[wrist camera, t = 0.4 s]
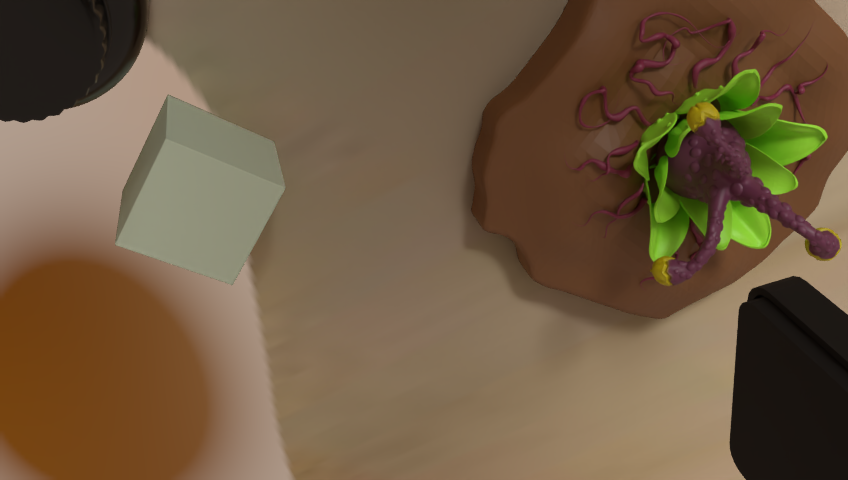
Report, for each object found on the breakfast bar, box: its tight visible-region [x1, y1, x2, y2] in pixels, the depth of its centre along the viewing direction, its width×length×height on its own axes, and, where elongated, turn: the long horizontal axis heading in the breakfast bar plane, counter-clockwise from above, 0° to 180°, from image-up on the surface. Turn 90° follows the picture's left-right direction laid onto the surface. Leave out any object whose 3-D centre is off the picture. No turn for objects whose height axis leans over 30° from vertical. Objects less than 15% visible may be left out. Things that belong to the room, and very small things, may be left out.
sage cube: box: [115, 95, 286, 285], centre depth 34 cm, size 5×5×5 cm
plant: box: [471, 0, 848, 319], centre depth 38 cm, size 20×20×11 cm
